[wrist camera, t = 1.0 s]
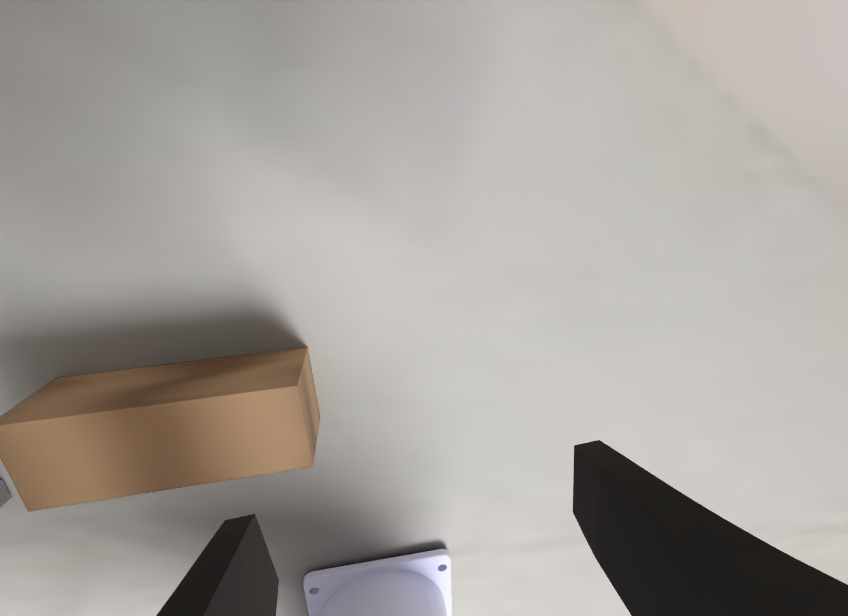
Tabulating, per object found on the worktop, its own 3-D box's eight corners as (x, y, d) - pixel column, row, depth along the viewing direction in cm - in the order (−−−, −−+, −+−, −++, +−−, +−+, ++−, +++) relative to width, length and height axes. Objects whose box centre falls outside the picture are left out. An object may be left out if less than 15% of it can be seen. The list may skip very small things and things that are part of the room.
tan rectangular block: (308, 344, 18) (296, 385, 14) (320, 413, 19) (312, 466, 16) (60, 374, 17) (-16, 427, 13) (90, 446, 18) (27, 511, 14)
